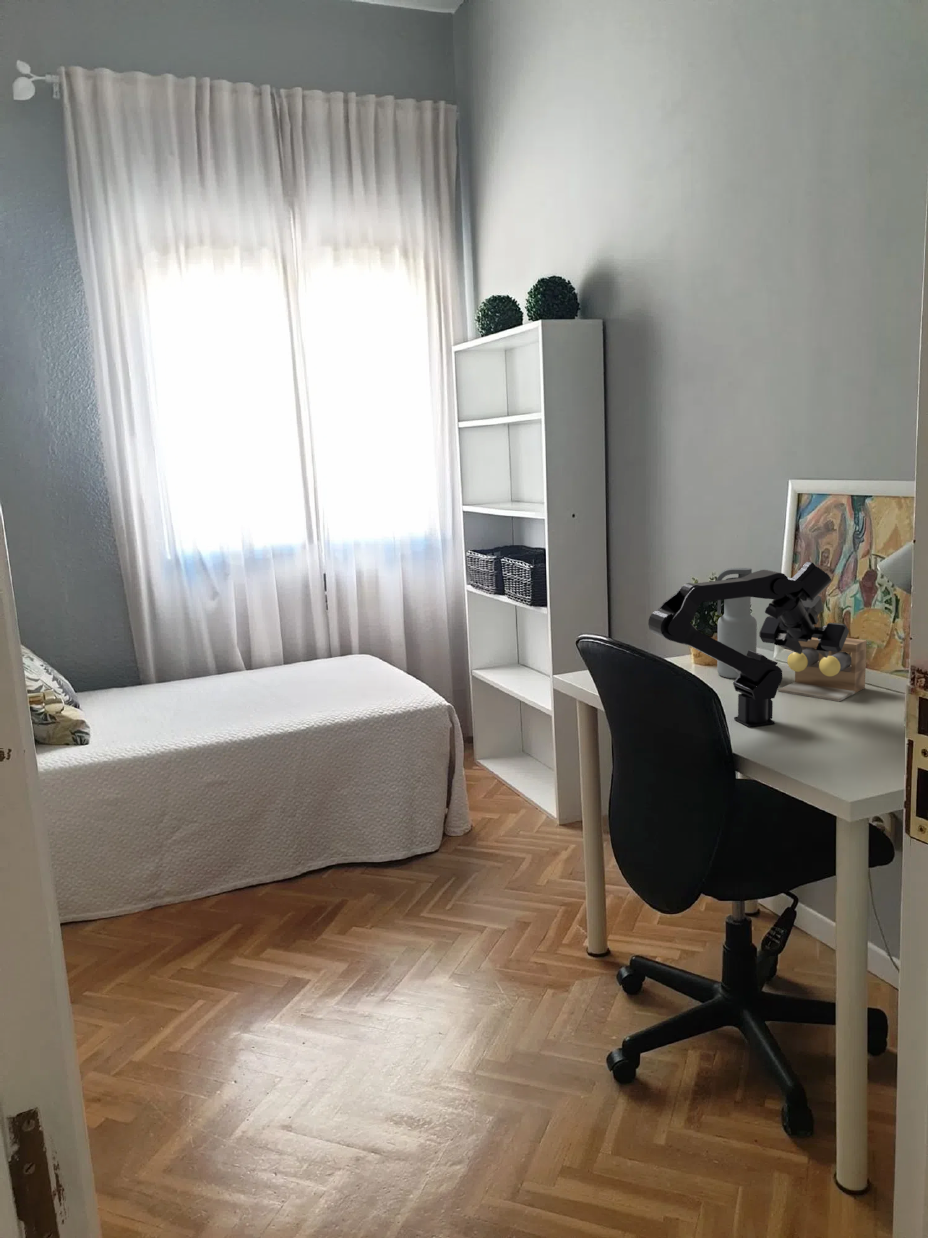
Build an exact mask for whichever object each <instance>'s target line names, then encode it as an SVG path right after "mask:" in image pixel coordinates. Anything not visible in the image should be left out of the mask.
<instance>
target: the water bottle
mask: <svg viewBox="0 0 928 1238" xmlns="http://www.w3.org/2000/svg"><path fill="white" fill-rule="evenodd" d="M752 570H753V569H752V568H751V567H730V568H726V569H724V570H722V571H721V572H720V573H719V574H718V576H717V578H716V580H715V581H720V580H724V578H725V577H726V576H727V577H728V576H730V575H737V576H738V577H735V576H734V577H728V578H726V579H725V580H729V579H738V578H742V577H745V576H747V575H748V574H750V573H753V572H752ZM751 598H752V597H742V598H733V599H725V600H724V601H723V602H724V603H723V605H724V606H723V608H724V610H723V612H724V613H723V615H721V611H722V600H717V616H720V615H721V616H720V617H719V618H718V620H717V641H719V642H721V643H722V644H724V645H726V646H728V647H730V648H732V649H734V650H736V651H738V652H740V653H742V654H743V655H747V653H748V650H751V651H753V652H756V653H757V642H758V641H757V640H758V639H757V635H758V633H757V632H758V631H757V630H758V629H757V627H758V624H757V623H758V622H757V619H756V618H755V617H754V616H753V615H752V614H751V605H752V604H751ZM716 661H717V663H716V665H717V668H716V671H717V674H718V675H719V676H721V678H722V677H723V678H727V679H732V680H733V679H734V680H736V679H737V678H738V676H739V674H738V673H737V672H736V671H735V670H734V669H733V668H731V667H729V666H727V665H726V664H724V663H722V662H720V661H718V660H716Z"/></svg>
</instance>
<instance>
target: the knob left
mask: <svg viewBox="0 0 928 1238" xmlns="http://www.w3.org/2000/svg"><path fill="white" fill-rule="evenodd" d="M817 662H819V652H818V651H817V650H816V648H812V647H810V648H807V649H804V650H802V653H801V654H798V653H796V652H793V651H792V652H791V653H790V654H789V655H788V656H787V666H788V668H789V669H791V670H792V671H793V672H795V671H796V672H800V671H802V670H804V669H805V668H806V667H809V666H811V665H813V664H815V663H817Z"/></svg>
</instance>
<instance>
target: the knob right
mask: <svg viewBox="0 0 928 1238" xmlns="http://www.w3.org/2000/svg"><path fill="white" fill-rule="evenodd" d="M850 666H851V655H850V654H849V652H844V651H842V652H839V653H836V654H834V655H832V656H828V657H827V658H825V657H824V658H822V659H821V661H820V663H819V668H820V670H821V672H822V673H823V674H824V675H826V676H834V675H836V674H838V673H839V672H840V671H842V670H844V669H846V668H848V667H850Z"/></svg>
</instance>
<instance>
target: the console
mask: <svg viewBox="0 0 928 1238" xmlns="http://www.w3.org/2000/svg"><path fill="white" fill-rule="evenodd" d="M867 642H868V641H867V640H866V639H858V638H849V637H847V638H846V640H845V643H844V645H843V648H842V650H841V651H839V652H846V653H851V655H850V656H851V666H850V667H848V668H846V669H844V670H842V671H840V672H839V673H838V674H836V675H834V676H826V675H824V674H823V673H822V672H821V670H820V668H819V663H820V661H821V659H822V658H824V656H822V655H821V654H820V653H819V661H818V662H817V663H815V664H813V665H811V666H809V667H806V668H805V669H804V670H802V671H800V672H796V671H794V682H791V683H789V684H787V685H785V686H783V687H781V688H778V692H779V693H784V694H785V693H786V694H792V695H797V696H804V697H811V698H816V699H820V700H821V699H822V700H827V701H828V700H829V701H835V702H841V701H843V700H845V699H846V698H849V697H851V696H853V695H854V694H855V695H856V694H857V693H859V692H861V691H863V690H864V689H866V667H867V666H866V665H867ZM799 643H800V645H801V647H802V650H804V649H807V648H810V647H811V648H815V649H816V648H817V646H818V643H819V640H818V638H813V637H812V639H811V640H808V641H807V642H803V641H799ZM839 652H834V651H829V654H828V656H832V655H834V654H836V653H839ZM862 689H863V690H862Z"/></svg>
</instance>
